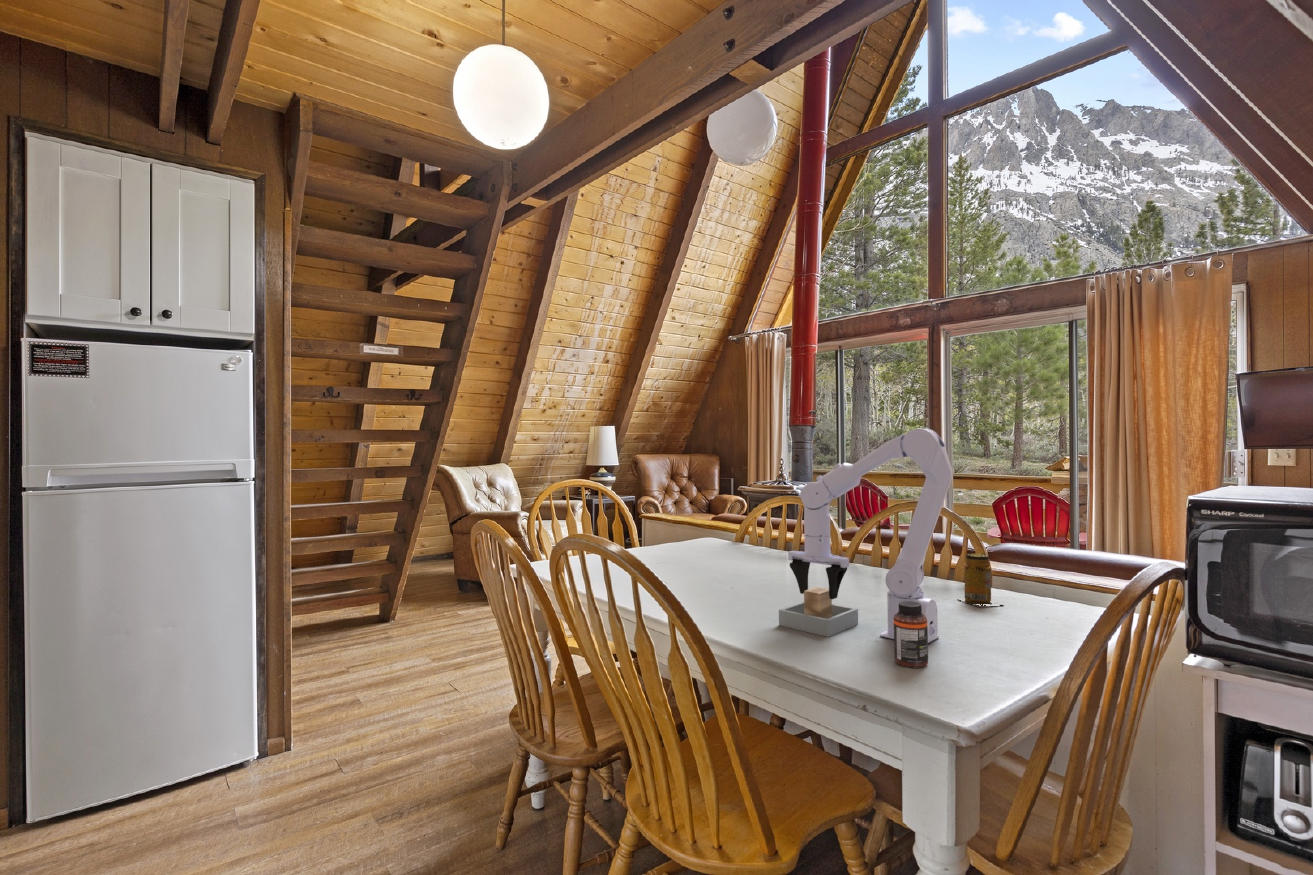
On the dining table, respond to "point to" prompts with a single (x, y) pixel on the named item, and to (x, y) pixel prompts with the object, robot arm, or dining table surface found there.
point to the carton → (818, 603)
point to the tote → (818, 619)
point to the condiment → (977, 580)
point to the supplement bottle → (910, 635)
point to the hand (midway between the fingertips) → (818, 595)
